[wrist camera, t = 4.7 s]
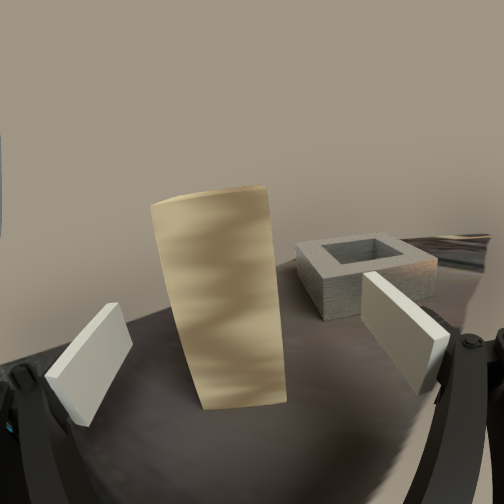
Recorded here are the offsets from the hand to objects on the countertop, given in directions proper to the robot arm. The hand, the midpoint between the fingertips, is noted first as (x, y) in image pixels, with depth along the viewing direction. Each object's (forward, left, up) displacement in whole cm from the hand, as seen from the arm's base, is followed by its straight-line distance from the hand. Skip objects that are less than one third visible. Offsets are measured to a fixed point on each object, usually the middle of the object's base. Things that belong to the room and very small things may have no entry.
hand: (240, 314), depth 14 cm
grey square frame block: (+12, +14, -6) cm, 19 cm away
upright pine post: (-1, +2, -6) cm, 6 cm away
